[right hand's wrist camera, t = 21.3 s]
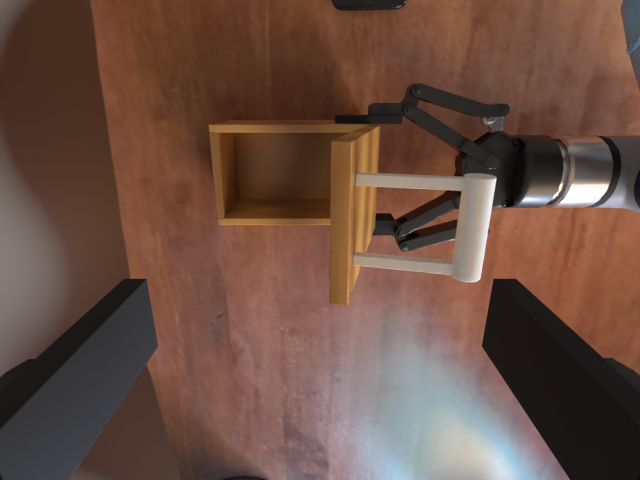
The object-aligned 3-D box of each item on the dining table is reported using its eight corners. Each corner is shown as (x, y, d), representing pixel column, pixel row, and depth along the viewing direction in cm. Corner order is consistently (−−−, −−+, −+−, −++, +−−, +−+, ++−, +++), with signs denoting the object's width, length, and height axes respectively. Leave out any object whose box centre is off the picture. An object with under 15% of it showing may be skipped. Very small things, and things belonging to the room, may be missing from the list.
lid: (329, 303, 24) (480, 322, 22) (330, 141, 20) (510, 145, 18) (363, 226, 39) (455, 233, 37) (367, 124, 35) (469, 126, 33)
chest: (235, 203, 47) (217, 225, 39) (229, 120, 44) (207, 124, 36) (359, 203, 47) (368, 225, 39) (362, 120, 44) (373, 124, 36)
